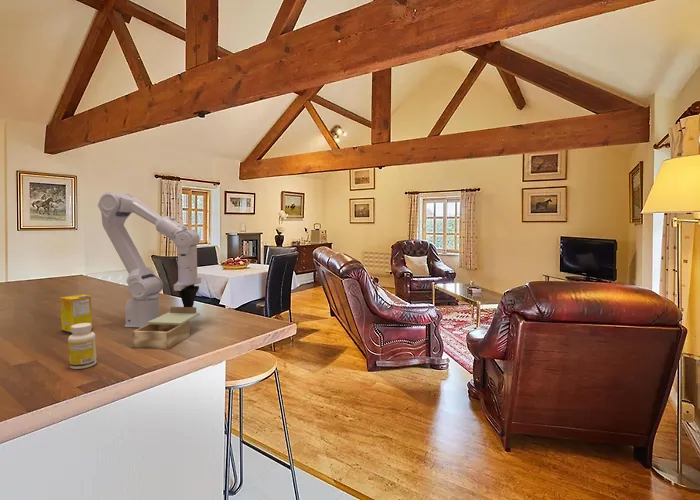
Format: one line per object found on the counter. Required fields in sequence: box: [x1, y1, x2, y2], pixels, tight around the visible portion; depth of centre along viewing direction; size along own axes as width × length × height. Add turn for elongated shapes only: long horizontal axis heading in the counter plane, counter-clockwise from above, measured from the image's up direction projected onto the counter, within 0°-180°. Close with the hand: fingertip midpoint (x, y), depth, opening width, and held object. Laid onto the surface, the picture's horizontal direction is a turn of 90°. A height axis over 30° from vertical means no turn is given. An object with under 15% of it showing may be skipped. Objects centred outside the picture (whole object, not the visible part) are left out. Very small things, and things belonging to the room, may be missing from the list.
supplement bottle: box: [67, 323, 98, 370], centre depth 92 cm, size 5×5×10 cm
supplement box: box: [59, 293, 94, 335], centre depth 119 cm, size 6×6×11 cm
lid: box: [147, 306, 200, 325], centre depth 117 cm, size 10×12×2 cm
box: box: [131, 320, 191, 350], centre depth 111 cm, size 10×12×4 cm
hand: (188, 308), depth 126 cm, fingers closed
